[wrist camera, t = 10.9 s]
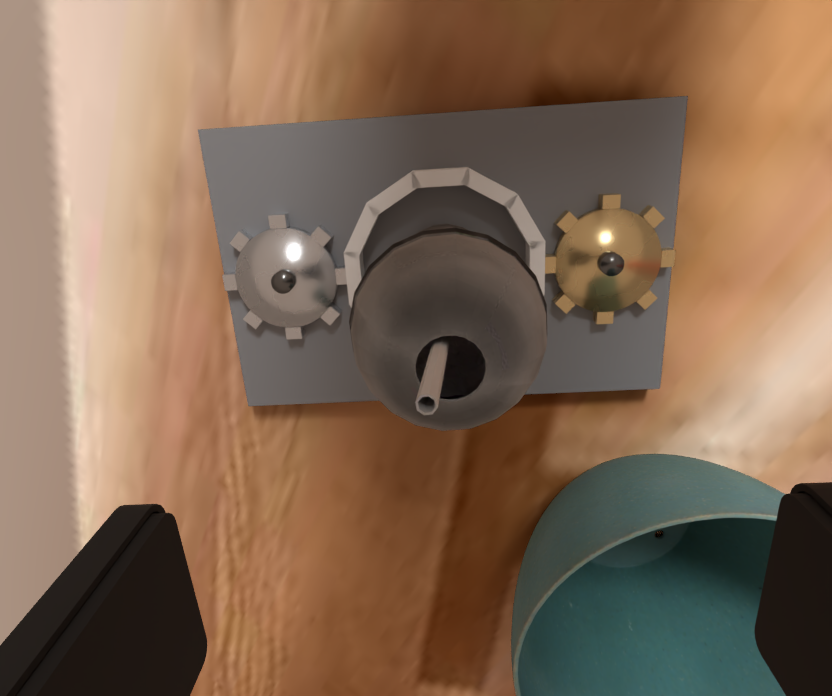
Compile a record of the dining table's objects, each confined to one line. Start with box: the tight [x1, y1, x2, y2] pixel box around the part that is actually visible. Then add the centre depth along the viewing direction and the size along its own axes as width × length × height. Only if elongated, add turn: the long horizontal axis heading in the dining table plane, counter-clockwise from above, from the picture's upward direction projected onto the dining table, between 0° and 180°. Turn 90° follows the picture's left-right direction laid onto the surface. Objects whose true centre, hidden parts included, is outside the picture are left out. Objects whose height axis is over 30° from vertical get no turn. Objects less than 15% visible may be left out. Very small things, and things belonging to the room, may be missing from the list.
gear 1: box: [222, 213, 347, 339], centre depth 31 cm, size 7×7×2 cm
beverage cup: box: [349, 224, 547, 431], centre depth 22 cm, size 7×7×20 cm
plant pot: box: [511, 454, 786, 696], centre depth 33 cm, size 18×18×12 cm
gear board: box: [198, 96, 688, 406], centre depth 31 cm, size 16×25×3 cm, turn 94°
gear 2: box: [545, 193, 676, 324], centre depth 30 cm, size 7×7×2 cm
